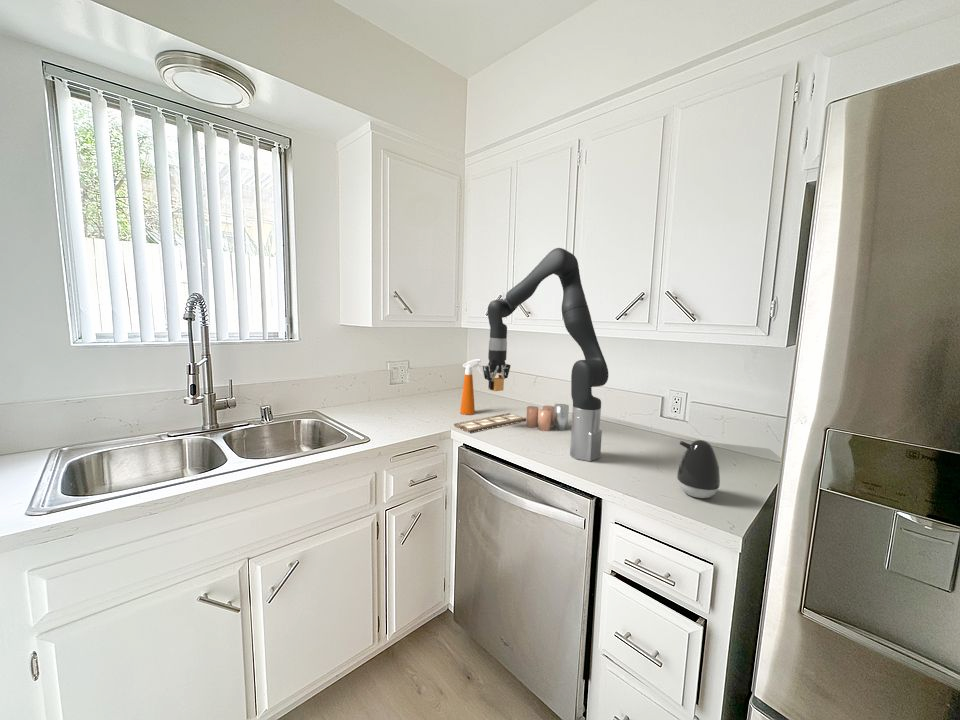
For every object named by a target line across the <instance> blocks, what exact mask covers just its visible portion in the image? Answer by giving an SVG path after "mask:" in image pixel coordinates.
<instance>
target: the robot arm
mask: <svg viewBox="0 0 960 720" xmlns="http://www.w3.org/2000/svg"><path fill="white" fill-rule="evenodd" d="M579 267H580V266H579V261H578V258H576V256H575V255H574V254H573V253H572V252H571V251H568V250H567V249H565V248H562V247H556V248H553V249H552V250H551V251H549V252H548V253H547V254H546V255H545V257H544V258H542V260H540V262H539V263H538V264H537V265H536V266H535V267H534V268H533V269H532V270H531V272H529V273H528V274H527V276H525V277H524V278H523V280H521V281H520V282H519V283H517V284H516V285H515V286H513V287H512V288H511V289H510V290H508V291H507V292H506V293H505V294H506V295H505V298H504V299H502V300H500V299H494V300H491V301H490V302H489V304H488V307H487V318H488V322H489V323H488V324H489V341H488V355H487V356H488V357H487V358H488V364H487V365H482V371H483V372H482V373H483V374H484V375H483V377H484V379H485V380H487V381H488V386H487V387H489V389H490V390H489V389H488V390H489V391H492V390H493V389H494V378H495V377H499V378H503V379H504V380H505V379H508V377H509V375H510V374H509V373H510V369H511V364H508V363H506V360H507V354H508V353H507V351H508V341H507V339H508V338H507V337H508V327H507V326H508V325H507V324H505V323H504V322H503V318H507V317H508V316H510V315H511V314H513V313H514V312H515V310H517V309H518V307H519V306H520V305H521V304H523V303H524V302H525V301H527V300H528V299H529V298H531V297H532V296H533V295H534V293H535V292H536V290H537V288H538V287H539V286H540V284H541V283H542V282H543V281H544V280H546V279H547V278H548V277H550V276H552V275H555V276H557V277H558V279H559V281H560V284H561V287H562V294H563V295H562V302H561V315H562V319H563V322H564V327H565V330H566V331H567V333H568V334H569V335H570V336H571V338H572V339H573V340H574V342H576V343H577V345H578V346H579V348H580V349H581V351H582V354H583V355H584V359H580V360H577V361H575V362H574V364H573V365H572V368H571V376H570V377H571V378H570V379H571V381H570V382H571V386H570V387H571V388H570V390H571V392H570V395H571V396H570V397H571V400H572V413H571V429H570V447H569V449H570V450H569V455H570V456H571V458H574V459H576V460H580V461H586V462H587V461H588V462H593V461H595V460H597V459H600V458H601V453H602V452H601V450H602V438H603V437H602V435H603V430H602V429H600V427H601V413H602V400H601V398H599V397H596V396H594V395H593V391H592V389H593V388H597V387H598V388H599V387H602V386H604V385H606V383H608V380H609V369H608V365H607V362H606V360H605V356H604V355H603V351H602V350H601V347H600V344H599V341H598V338H597V334H596V332H595V328H594V325H593V321H592V316H591V313H590V309H589V305H588V303H587V300H586V295H585V293H584V289H583V285H582V280H581V275H580V268H579ZM491 377H492V378H491Z"/></svg>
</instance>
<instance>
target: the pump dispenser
mask: <svg viewBox="0 0 960 720" xmlns="http://www.w3.org/2000/svg"><path fill="white" fill-rule="evenodd" d="M679 445H680V446H682V447H684V448H686V450H685V451H684V453H683V455H682V457H681V460H680V462H679V465H678V470H677V473H676V478H677V480H678V485H679V487H680V489H681V490H682V491H683V492H684V493H685V494H686V495H689V496H690V497H693V498H696V499H709V498H711V497H713V496H714V495H715V494H716V493H717V491H718V490H719V488H720V486H721V476H720V475H721V474H720V473H721V471H720V466H719V461H718V458H717V455H716V452H715V450H714V448H713V446H712V445H711V444H710V442H707V441H706V440H702V439H697V440H694V441H692V442H691V443H687V442H685V441H684V440H683V441H682V440H680V442H679Z"/></svg>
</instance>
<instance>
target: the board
mask: <svg viewBox="0 0 960 720" xmlns="http://www.w3.org/2000/svg"><path fill="white" fill-rule="evenodd" d="M521 421H523V422H526V417H522V416H519V415H516V414H513V413H510V412H509V413H502V414H499V415H493V416H487V417H483V418H478V419H471V420H467V421H462V422H456V423H453V427H454V426H455V428H457V429H459V428H460V429H459V430H462V429H463V430H462V431H464V430H466V431H465V432H467V431H468V432H467V433H469V432H473V433H475V432H474V431H477V432H479V431H478V430H482V429H487V428H491V429H493V428H492V427H496V428H498V427H497V426H500V427H503V426H502V425H505V426H507V425H506V424H509V425H512V424H511V423H514V424H517V423H516V422H519V423H522V422H521ZM487 430H488V429H487ZM482 431H483V430H482Z"/></svg>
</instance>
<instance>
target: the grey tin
mask: <svg viewBox="0 0 960 720" xmlns="http://www.w3.org/2000/svg"><path fill="white" fill-rule="evenodd" d="M569 411H570V406H569V405H568V404H565V403H556V404H554V424H553V429H554V430H556V429H557V431H567V430H568V427H569Z"/></svg>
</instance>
